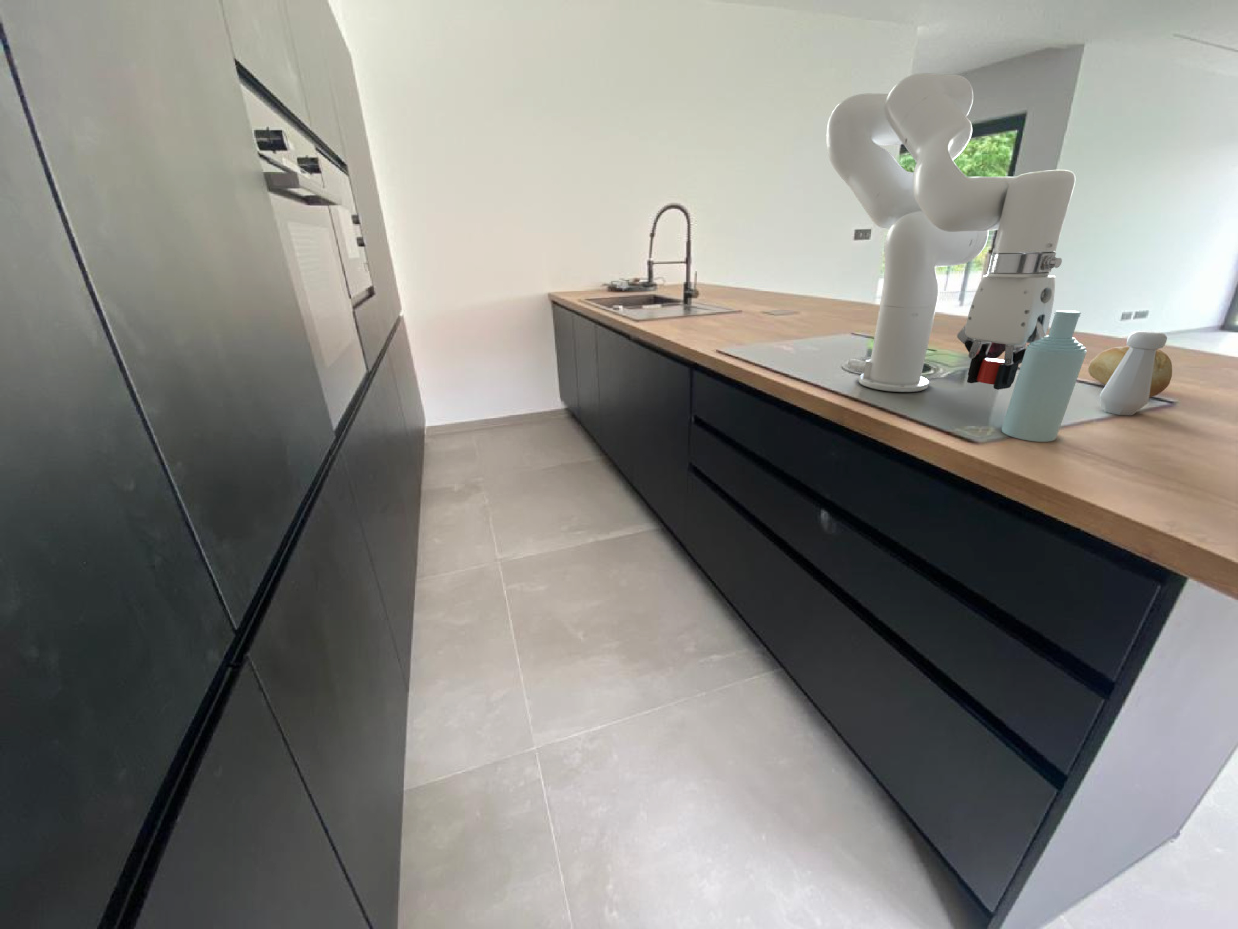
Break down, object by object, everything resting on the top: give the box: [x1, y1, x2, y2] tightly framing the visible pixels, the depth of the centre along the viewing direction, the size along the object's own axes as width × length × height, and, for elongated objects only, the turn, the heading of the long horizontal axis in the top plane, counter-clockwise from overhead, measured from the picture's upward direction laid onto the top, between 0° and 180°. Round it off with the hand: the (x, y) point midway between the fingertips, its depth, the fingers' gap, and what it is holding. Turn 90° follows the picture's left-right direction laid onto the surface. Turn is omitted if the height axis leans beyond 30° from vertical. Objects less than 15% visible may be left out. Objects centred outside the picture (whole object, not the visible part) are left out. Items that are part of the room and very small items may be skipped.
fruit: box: [986, 342, 1006, 359], centre depth 115 cm, size 8×8×8 cm
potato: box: [1087, 345, 1173, 398], centre depth 92 cm, size 10×15×8 cm, turn 166°
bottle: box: [1001, 309, 1088, 443], centre depth 72 cm, size 7×7×18 cm
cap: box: [977, 358, 1004, 386], centre depth 82 cm, size 4×4×4 cm
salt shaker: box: [1099, 330, 1168, 416], centre depth 80 cm, size 6×6×13 cm
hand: (988, 383), depth 82 cm, fingers closed on cap, 3 cm apart
